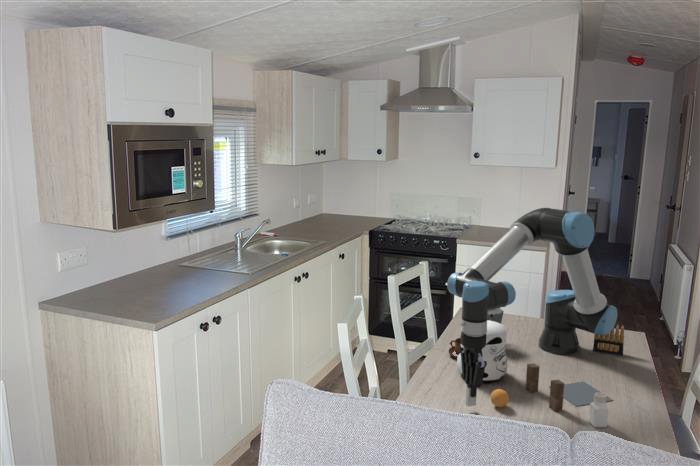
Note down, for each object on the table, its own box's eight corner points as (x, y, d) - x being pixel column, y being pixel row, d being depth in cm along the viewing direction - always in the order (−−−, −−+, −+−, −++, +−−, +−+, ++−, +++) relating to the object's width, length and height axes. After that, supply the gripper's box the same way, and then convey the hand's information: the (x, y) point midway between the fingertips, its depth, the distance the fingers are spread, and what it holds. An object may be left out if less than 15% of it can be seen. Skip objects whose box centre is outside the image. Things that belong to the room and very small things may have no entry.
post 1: (532, 388, 189) (534, 363, 187) (537, 391, 186) (539, 366, 185) (525, 389, 188) (527, 364, 187) (530, 393, 186) (532, 367, 184)
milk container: (514, 385, 191) (516, 335, 188) (464, 386, 190) (466, 336, 187) (497, 364, 208) (499, 317, 205) (451, 365, 207) (453, 319, 204)
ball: (502, 401, 180) (503, 385, 179) (511, 409, 175) (512, 392, 174) (487, 403, 179) (487, 387, 178) (496, 411, 174) (496, 395, 173)
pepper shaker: (600, 421, 168) (603, 391, 166) (607, 428, 164) (610, 397, 162) (587, 421, 168) (590, 391, 166) (593, 428, 164) (596, 398, 162)
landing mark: (583, 381, 194) (583, 381, 194) (613, 400, 180) (613, 400, 180) (548, 387, 190) (548, 386, 190) (575, 406, 177) (576, 406, 177)
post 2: (556, 406, 177) (558, 379, 175) (562, 410, 174) (564, 383, 173) (549, 407, 176) (550, 380, 175) (554, 411, 174) (556, 384, 172)
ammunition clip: (622, 354, 217) (625, 324, 215) (622, 355, 216) (625, 326, 213) (592, 349, 222) (595, 320, 219) (592, 351, 220) (595, 322, 218)
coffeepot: (502, 353, 218) (504, 309, 215) (477, 351, 220) (479, 307, 217) (501, 339, 233) (503, 297, 230) (477, 337, 235) (479, 295, 232)
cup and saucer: (445, 360, 213) (446, 344, 211) (451, 348, 224) (452, 333, 222) (477, 364, 208) (478, 349, 207) (482, 352, 219) (482, 337, 218)
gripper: (452, 326, 175) (450, 396, 179) (473, 341, 162) (469, 416, 167) (474, 324, 177) (471, 393, 181) (496, 338, 164) (492, 413, 169)
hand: (470, 404), depth 174 cm, fingers closed
